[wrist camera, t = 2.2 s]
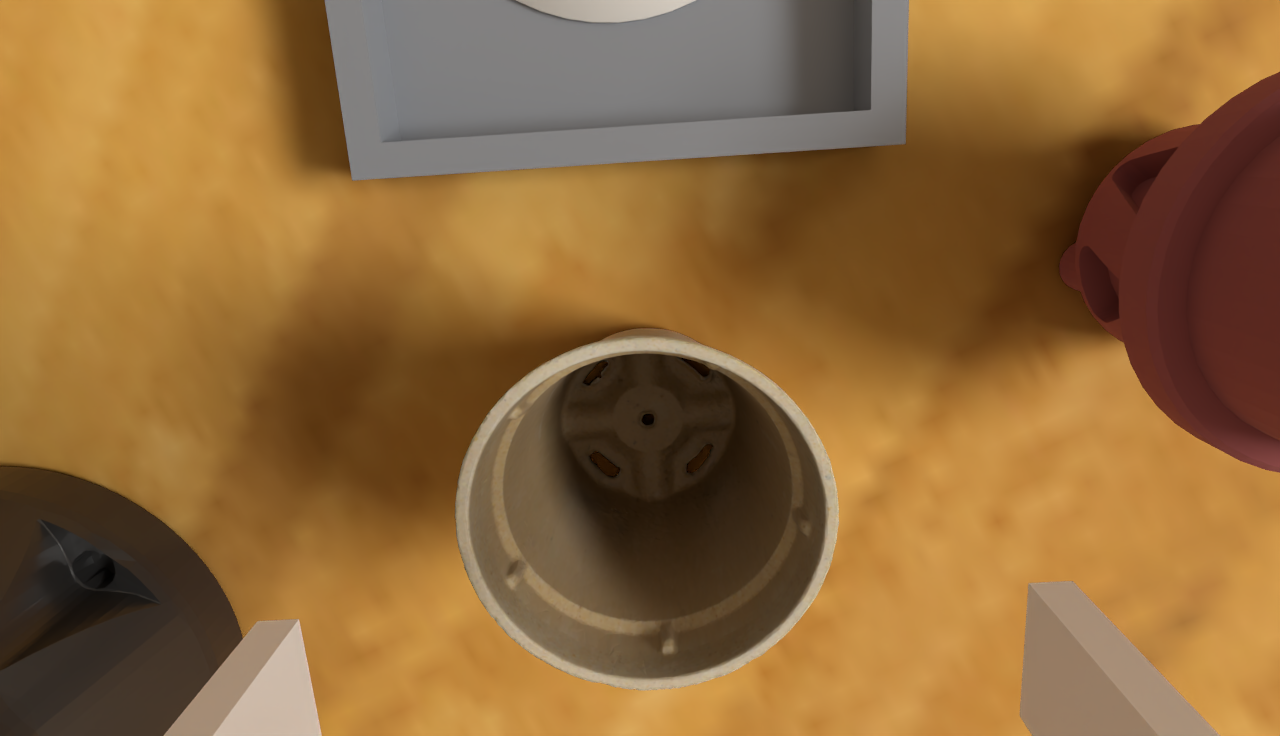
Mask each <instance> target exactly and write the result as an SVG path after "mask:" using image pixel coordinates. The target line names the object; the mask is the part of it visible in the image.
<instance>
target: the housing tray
mask: <svg viewBox="0 0 1280 736" xmlns="http://www.w3.org/2000/svg"><path fill="white" fill-rule="evenodd" d="M325 6H326V12H327V19H328V26H329V32H330V39H331V45H332V52H333V58H334V65H335V71H336V78H337V84H338V91H339V97H340V104H341V111H342V117H343V124H344V130H345V137H346V143H347V150H348V156H349V163H350V169H351V176H352V180H367V179H382V178H397V177H413V176H428V175H443V174H458V173H473V172H489V171H504V170H519V169H534V168H550V167H565V166H580V165H595V164H610V163H626V162H641V161H656V160H671V159H686V158H702V157H717V156H732V155H747V154H762V153H778V152H793V151H808V150H823V149H839V148H854V147H869V146H884V145H899V144H906V108H907V60H908V12H909V0H325Z"/></svg>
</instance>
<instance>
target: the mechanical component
mask: <svg viewBox="0 0 1280 736" xmlns="http://www.w3.org/2000/svg"><path fill="white" fill-rule="evenodd" d="M1059 272H1060V276H1061V278H1062V281H1063V282H1064V283H1065V284H1066V285H1067V286H1069V287H1071V288H1072V289H1075V290H1078V291H1081V294H1082V297H1083V300H1084V302H1085V304H1086V305H1087V307H1088V309H1089V310H1090V312H1091V314H1092V315H1093V317H1094V318H1095V319H1096V320H1097V321H1098V322H1099V324H1100V325H1101V326H1102V327H1103V328H1104V329H1105V330H1106V331H1107V332H1109V333H1110V334H1112V335H1113V336H1114V337H1116V338H1117V339H1118V340H1120V341H1122V342H1124V344H1125V347H1126V350H1127V354H1128V357H1129V360H1130V363H1131V365H1132V367H1133V369H1134V371H1135V373H1136V375H1137V377H1138V379H1139V381H1140V383H1141V385H1142V387H1143V388H1144V389H1145V391H1146V392H1147V393H1148V395H1149V396H1150V397H1151V399H1152V400H1153V401H1154V403H1155V404H1156V405H1157V406H1158V407H1159V408H1160V409H1161V410H1162V411H1163V412H1164V413H1165V414H1166V415H1167V416H1168V417H1169V418H1170V419H1171V420H1172V421H1173V422H1174V423H1175V424H1177V425H1178V426H1180V427H1181V428H1183V429H1184V430H1186V431H1187V432H1189V433H1190V434H1192V435H1193V436H1195V437H1196V438H1198V439H1200V440H1202V441H1204V442H1206V443H1208V444H1210V445H1212V446H1213V447H1215V448H1217V449H1219V450H1221V451H1223V452H1225V453H1227V454H1229V455H1230V456H1232V457H1234V458H1236V459H1238V460H1240V461H1243V462H1245V463H1248V464H1251V465H1254V466H1257V467H1259V468H1262V469H1265V470H1270V471H1275V472H1280V72H1278V73H1276V74H1274V75H1272V76H1270V77H1267V78H1265V79H1263V80H1261V81H1259V82H1258V83H1256V84H1254V85H1253V86H1251V87H1249V88H1248V89H1246V90H1244V91H1243V92H1241V93H1240V94H1238V95H1236V96H1235V97H1233V98H1232V99H1230V100H1229V101H1228V102H1226V103H1225V104H1224V105H1223V106H1221V107H1220V108H1219V109H1218V110H1216V111H1215V112H1214V113H1213V114H1211V115H1210V116H1209V117H1207V118H1206V119H1205V120H1204V121H1203V122H1202V123H1201V124H1198V125H1191V126H1187V127H1183V128H1179V129H1174V130H1171V131H1168V132H1166V133H1164V134H1162V135H1160V136H1158V137H1155V138H1153V139H1151V140H1149V141H1147V142H1146V143H1144V144H1143V145H1141V146H1140V147H1138V148H1137V149H1135V150H1134V151H1132V152H1131V153H1129V154H1128V155H1127V156H1126V157H1125V158H1124V159H1123V160H1122V161H1121V162H1119V163H1118V164H1117V165H1116V166H1115V167H1114V168H1113V169H1112V170H1111V171H1110V173H1109V174H1108V175H1107V176H1106V178H1105V179H1104V180H1103V181H1102V183H1101V184H1100V185H1099V186H1098V188H1097V190H1096V191H1095V193H1094V195H1093V197H1092V198H1091V200H1090V202H1089V204H1088V205H1087V208H1086V211H1085V213H1084V216H1083V218H1082V221H1081V223H1080V227H1079V232H1078V236H1077V241H1076V243H1074V244H1073V245H1071V246H1070V247H1069V248H1068V249H1067V250H1066V251H1065V252H1064V254H1063V256H1062V258H1061V260H1060V264H1059Z"/></svg>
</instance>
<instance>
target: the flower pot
mask: <svg viewBox="0 0 1280 736" xmlns="http://www.w3.org/2000/svg"><path fill="white" fill-rule="evenodd" d="M679 357H681V358H685V359H689V360H693V361H696V362H699V363H702V364H704V365H705V366H707V367H708V368H709V374H708V375H707V376H705V377H703V376H702V375H701V374H699V373H698V372H697V371H696V370H695V369H694V368H692V367H691V366H690V365H689V364H687V363H686V362H685V361H683V360H682V359H680V358H679ZM602 361H606V362H608V365H607V366H606V367H605V368H604V369H603V370H602V372H601V376H602V377H601V378H599V377H598V378H596V379H595V380H593V381H592V382H591V384H590V385H586V384H584V383H583V381H584V379H585V378H586V377H587V375H588V374H589V373H590V372H591V371H592V369H593V368H594V367H595V366H596V365H597V364H598V363H600V362H602ZM645 414H653V416H654V422H653V423H652V424H651V425H645V424H643V422H642V417H643V415H645ZM706 444H711V445H713V448H712V449H711V450H710V454H709V456H708V457H707V459H706V460H705V461H704V463H703V464H702V465H701V466H700V468H699V469H698V470H696V471H695V472H693V473H688V472H687V470H686V466H687V463H688V462H689V461H690V460H691V459H693V458H695V457H696V456H697V455H698V453H699V452H700V451H701V450H702V448H703V447H704V446H705V445H706ZM595 451H598V452H599V453H601V454H602V455H603V456H604V457H606V458H607V459H608V460H609V461H610V462H611V463H612V464H614V465H616V467H619V468H620V471H619V474H618V475H617V476H615V477H612V476H608V475H605V474H604V473H603V472H602V471H601V470H600V468H599V467H598V466H597V464H595V463H593V462H592V460H591V458H590V456H589V455H591V454H593V452H595ZM838 513H839V508H838V498H837V488H836V482H835V478H834V475H833V471H832V467H831V463H830V459H829V457H828V455H827V453H826V450H825V448H824V446H823V444H822V442H821V440H820V438H819V436H818V434H817V433H816V431H815V429H814V428H813V426H812V425H811V423H810V422H809V420H808V419H807V417H806V416H805V415H804V413H803V412H802V411H801V409H800V408H799V407H798V406H797V405H796V403H795V402H794V401H793V400H792V399H791V398H790V397H789V396H788V395H787V394H786V393H785V392H784V391H783V390H782V389H781V388H780V387H779V386H778V385H777V384H776V383H774V382H773V381H772V380H771V379H769V378H768V377H767V376H765V375H764V374H763V373H761V372H760V371H758V370H757V369H755V368H753V367H752V366H750V365H748V364H747V363H745V362H743V361H741V360H739V359H737V358H735V357H733V356H731V355H729V354H727V353H724V352H722V351H719V350H717V349H714V348H711V347H708V346H705V345H702V344H700V343H699V342H697V341H695V340H693V339H691V338H689V337H687V336H685V335H683V334H680V333H678V332H674V331H670V330H665V329H655V328H639V329H630V330H626V331H622V332H618V333H615V334H613V335H610V336H608V337H606V338H604V339H602V340H601V341H598V342H594V343H591V344H587V345H584V346H581V347H577V348H575V349H573V350H570V351H568V352H566V353H563V354H561V355H559V356H557V357H555V358H553V359H551V360H549V361H547V362H545V363H543V364H542V365H540V366H539V367H537V368H536V369H534V370H533V371H531V372H529V373H528V374H527V375H526V376H525V377H523V378H522V379H521V380H519V381H518V382H517V383H516V384H515V385H513V386H512V387H511V388H510V389H509V390H508V391H507V392H506V393H505V394H504V395H503V396H502V397H501V399H500V400H499V401H498V402H497V403H496V404H495V405H494V407H493V408H492V409H491V410H490V412H489V413H488V414H487V416H486V417H485V419H484V421H483V422H482V424H481V425H480V427H479V429H478V430H477V432H476V434H475V436H474V437H473V439H472V441H471V443H470V446H469V448H468V450H467V452H466V455H465V457H464V459H463V462H462V466H461V470H460V474H459V478H458V487H457V493H456V502H455V518H456V519H455V520H456V535H457V541H458V547H459V550H460V553H461V556H462V560H463V563H464V567H465V570H466V572H467V575H468V577H469V580H470V582H471V584H472V586H473V588H474V590H475V591H476V593H477V595H478V597H479V599H480V601H481V603H482V604H483V605H484V607H485V608H486V610H487V611H488V612H489V614H490V615H491V617H493V618H494V619H495V621H496V622H497V624H498V625H499V626H500V627H501V628H502V629H503V630H504V631H505V632H506V634H507V635H509V636H510V637H511V638H512V639H513V640H514V641H515V642H517V643H518V644H519V645H520V646H522V647H523V648H524V649H525V650H527V651H528V652H529V653H531V654H533V655H534V656H535V657H537V658H539V659H541V660H543V661H545V662H546V663H547V664H550V665H551V666H553V667H555V668H557V669H559V670H561V671H564V672H566V673H568V674H570V675H573V676H575V677H578V678H580V679H583V680H587V681H591V682H597V683H604V684H607V685H610V686H613V687H621V688H625V689H636V690H658V689H672V688H680V687H686V686H690V685H694V684H699V683H702V682H705V681H708V680H711V679H714V678H717V677H721V676H724V675H727V674H729V673H731V672H733V671H735V670H737V669H739V668H741V667H742V666H743V665H745V664H747V663H749V662H750V661H751V660H753V659H755V658H757V657H759V656H761V655H762V654H764V653H765V652H766V651H767V650H768V649H769V648H771V647H772V646H773V645H775V644H776V643H777V642H778V641H779V640H780V639H782V638H783V637H784V636H785V635H786V634H787V633H788V632H789V631H790V630H791V629H792V627H793V626H794V625H795V624H796V623H797V622H798V621H799V620H800V618H801V617H802V616H803V614H804V613H805V612H806V610H807V609H808V608H809V606H810V605H811V603H812V602H813V601H814V599H815V598H816V596H817V594H818V592H819V590H820V588H821V586H822V584H823V582H824V579H825V577H826V574H827V572H828V570H829V567H830V565H831V561H832V556H833V552H834V548H835V544H836V540H837V531H838V525H839V517H838Z"/></svg>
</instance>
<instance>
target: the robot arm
mask: <svg viewBox="0 0 1280 736" xmlns="http://www.w3.org/2000/svg"><path fill="white" fill-rule="evenodd" d="M1020 717H1021V718H1022V720H1023V722H1024V723H1025V725H1026V726H1027V728H1028V729H1029V731H1030V733H1031V734H1032V736H1220V735H1219V734H1218V733H1217V732H1216V731H1215V730H1214V729H1213V728H1212V727H1211V726H1210V725H1209V724H1208V723H1207V722H1206V720H1205V719H1204V718H1203V717H1202V716H1201V715H1200V714H1199V713H1198V712H1197V711H1196V710H1195V709H1194V708H1193V707H1192V706H1191V705H1190V704H1189V703H1188V702H1187V701H1186V700H1185V698H1184V697H1183V696H1182V695H1181V694H1180V693H1179V692H1178V691H1177V690H1176V689H1175V688H1174V687H1173V686H1172V685H1171V684H1170V683H1169V682H1168V681H1167V680H1166V679H1165V678H1164V676H1163V675H1162V674H1161V673H1160V672H1159V671H1158V670H1157V669H1156V668H1155V667H1154V666H1153V665H1152V664H1151V663H1150V662H1149V661H1148V660H1147V659H1146V658H1145V657H1144V656H1143V654H1142V653H1141V652H1140V651H1139V650H1138V649H1137V648H1136V647H1135V646H1134V645H1133V644H1132V643H1131V642H1130V641H1129V640H1128V639H1127V638H1126V637H1125V636H1124V635H1123V634H1122V632H1121V631H1120V630H1119V629H1118V628H1117V627H1116V626H1115V625H1114V624H1113V623H1112V622H1111V621H1110V620H1109V619H1108V618H1107V617H1106V616H1105V615H1104V614H1103V613H1102V612H1101V610H1100V609H1099V608H1098V607H1097V606H1096V605H1095V604H1094V603H1093V602H1092V601H1091V600H1090V599H1089V598H1088V597H1087V596H1086V595H1085V594H1084V593H1083V592H1082V591H1081V590H1080V588H1079V587H1078V586H1077V585H1076V584H1075V583H1074V582H1073V581H1063V582H1043V583H1029V585H1028V600H1027V614H1026V629H1025V644H1024V659H1023V674H1022V689H1021V704H1020ZM0 736H322V735H321V730H320V724H319V719H318V714H317V709H316V704H315V699H314V694H313V689H312V683H311V678H310V673H309V668H308V663H307V658H306V653H305V648H304V642H303V637H302V632H301V627H300V622H299V619H291V620H271V621H257V622H256V624H255V625H254V626H253V627H252V629H251V630H250V631H249V632H248V633H247V635H246V636H245V637H244V638H242V634H241V630H240V627H239V624H238V622H237V619H236V616H235V614H234V612H233V609H232V607H231V605H230V603H229V601H228V599H227V597H226V595H225V593H224V591H223V590H222V588H221V586H220V585H219V583H218V582H217V580H216V578H215V577H214V576H213V574H212V573H211V572H210V570H209V569H208V567H207V566H206V565H205V564H204V562H203V561H202V560H201V559H200V558H199V556H198V555H197V554H196V553H195V552H194V551H193V550H192V549H191V548H190V547H189V546H188V545H187V543H186V542H185V541H183V540H182V539H181V538H180V537H179V536H178V535H177V534H176V533H175V532H174V531H172V530H171V529H170V528H169V527H168V526H166V525H165V524H164V523H163V522H161V521H160V520H159V519H157V518H156V517H154V516H153V515H152V514H150V513H149V512H147V511H146V510H144V509H143V508H141V507H139V506H138V505H136V504H135V503H133V502H131V501H129V500H127V499H126V498H124V497H122V496H120V495H118V494H116V493H114V492H112V491H110V490H107V489H105V488H103V487H101V486H98V485H95V484H93V483H90V482H88V481H85V480H82V479H78V478H75V477H72V476H68V475H64V474H60V473H56V472H52V471H46V470H41V469H33V468H25V467H7V466H3V467H0Z"/></svg>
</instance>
